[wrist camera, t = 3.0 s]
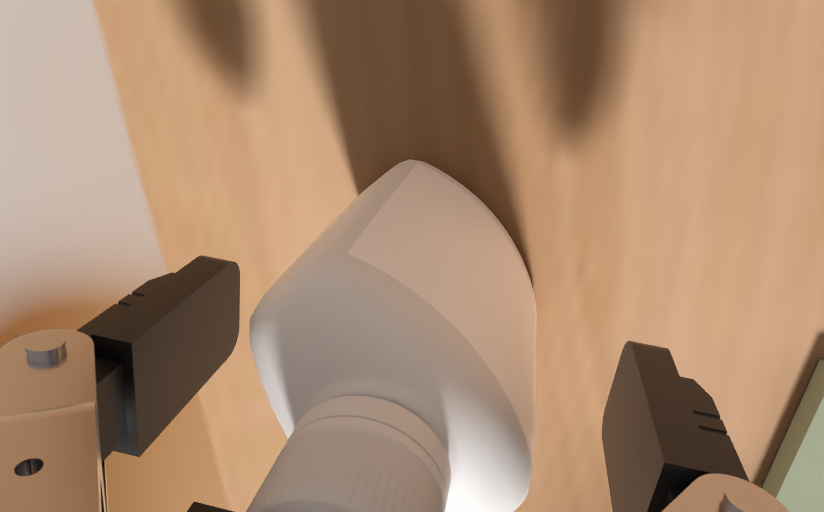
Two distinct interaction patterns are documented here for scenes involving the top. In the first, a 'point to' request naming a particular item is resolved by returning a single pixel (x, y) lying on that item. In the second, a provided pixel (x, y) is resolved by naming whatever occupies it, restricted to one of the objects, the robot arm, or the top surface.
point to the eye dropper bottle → (401, 357)
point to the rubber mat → (802, 454)
